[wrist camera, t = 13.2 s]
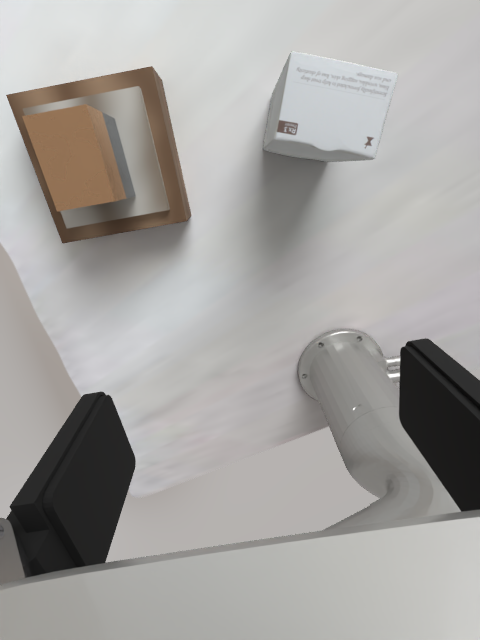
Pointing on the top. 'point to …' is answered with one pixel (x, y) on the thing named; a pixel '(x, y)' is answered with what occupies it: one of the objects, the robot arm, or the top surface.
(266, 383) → the top surface
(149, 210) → the walnut stand
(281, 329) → the top surface
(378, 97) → the skincare box
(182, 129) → the top surface
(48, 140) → the block
